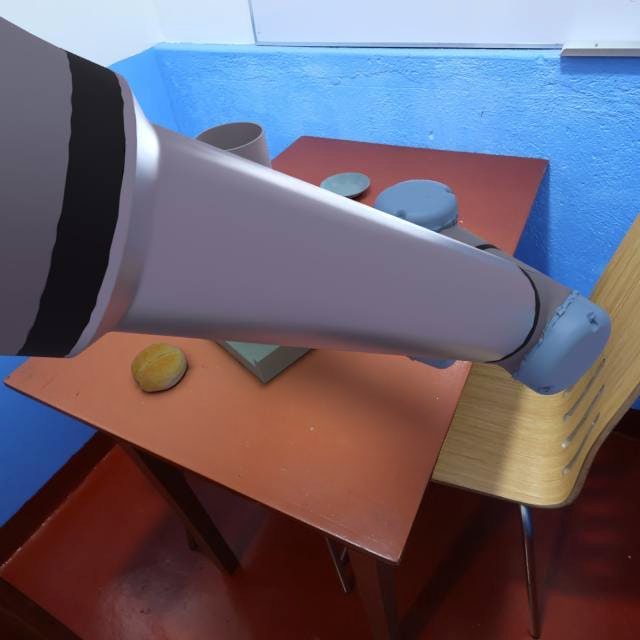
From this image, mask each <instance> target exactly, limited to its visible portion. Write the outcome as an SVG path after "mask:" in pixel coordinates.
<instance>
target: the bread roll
mask: <svg viewBox="0 0 640 640" xmlns="http://www.w3.org/2000/svg"><path fill="white" fill-rule="evenodd" d="M187 365H188V363H187V357H186V355H185V354H184V352H183V351H181V350H180V349H179V348H178V347H176V346H175V345H173V344H170V343H167V342H158V343H157V342H155V343H152V344H150V345H148V346H146V347H144V348H143V349H142V350H140V351H139V353H137V354H136V355H135V357H134V358H133V360H132V363H131V366H130V371H131V374H132V377H133V378H134V379H135V380H136V381H137V382H138V386H139V387H140V389H142V390H143V391H145V392H150V393H151V392H157V391H162V390H168V389H170V388H172V387H173V386H175V385H176V384H177V383H178V382H179V381H180V380H181V379H182V378H183V376H184V374H185V373H186V370H187V367H188V366H187Z"/></svg>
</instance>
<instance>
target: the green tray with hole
mask: <svg viewBox="0 0 640 640" xmlns="http://www.w3.org/2000/svg"><path fill="white" fill-rule="evenodd" d="M214 341H215V342H216V343H218V344H219V345H220V346H221V347H222V348H223V349H224V350H225V351H227V352H228V353H229V354H230V355H231V356H232V357H233V358H235V359H236V360H237V361H238V362H240V364H242V365H243V366H244V367H245V368H246V369H247V370H249V371H250V373H251V374H253V375H254V376H255V377H256V378H258V379H259V380H260V381H261V382H262V383H263V384H267V383H268V382H269V381H270V380H272V379H273V378H275V377H276V376H277V375H279V374H281V372H282V371H284V370H285V369H287V368H288V367H289V366H291V365H293V363H295V362H296V361H297V360H298V359H300V358H301V357H303V356H304V355H305V354H306V353H308V352H309V351H310V350H312V349H313V348H303V347H291V346H279V345H267V344H255V343H243V342H231V341H220V340H214Z"/></svg>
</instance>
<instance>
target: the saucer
mask: <svg viewBox="0 0 640 640" xmlns="http://www.w3.org/2000/svg"><path fill="white" fill-rule="evenodd" d="M370 185H371V180H370V178H369V177H368V176H367V175H365V174H363V173H359V172H340V173H336V174H333V175H331V176H328V177H326V178H325V179H323V181H321V183H320V184H319V187H320V188H323V189H325V190H328V191H330V192H333V193H336V194H338V195H341V196H343V197H346V198H348V199H353V198H355V197H358V196H359V195H361V194H363V192H365V191H366V190H367V189H368V187H369V186H370Z"/></svg>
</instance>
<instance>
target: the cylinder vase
mask: <svg viewBox="0 0 640 640" xmlns="http://www.w3.org/2000/svg"><path fill="white" fill-rule="evenodd" d="M193 138H194V139H196V140H199V141H201V142H204V143H207V144H209V145H212V146H214V147H217V148H219V149H222V150H225V151H227V152H230V153H232V154H235V155H237V156H240V157H243V158H245V159H248V160H250V161H253V162H256V163H258V164H261V165H263V166H266V167H268V168H271V169H273V165H272V162H271V161H272V160H271V156H270V151H269V147H268V141H267V137H266V133H265V128H264V126H263V125H262V124H260V123H258V122H254V121H232V122H225V123H221V124H218V125H215V126H211V127H209V128H207V129H204V130H203V131H201V132H199V133H198V134H197V135H196V136H195V137H193Z"/></svg>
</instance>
